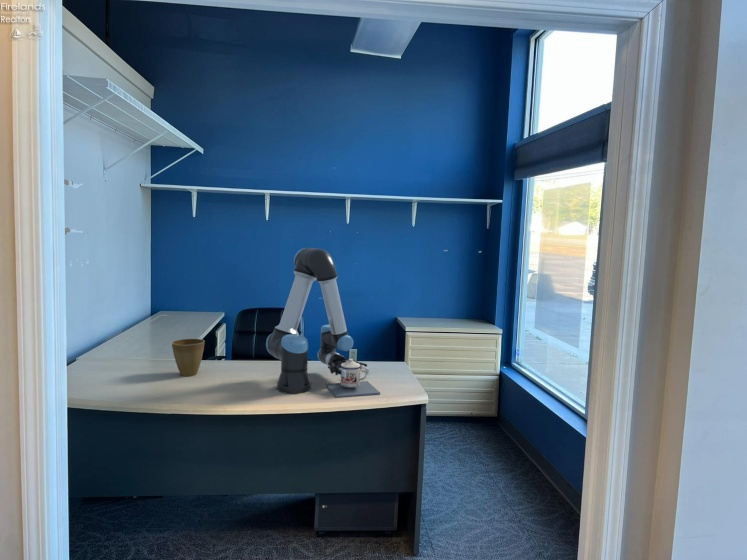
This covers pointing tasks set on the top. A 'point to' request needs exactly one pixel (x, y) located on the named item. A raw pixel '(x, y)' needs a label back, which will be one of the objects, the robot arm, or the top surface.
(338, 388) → the charcoal mat
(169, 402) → the top surface
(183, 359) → the plant pot
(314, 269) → the robot arm
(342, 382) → the teacup with lid
